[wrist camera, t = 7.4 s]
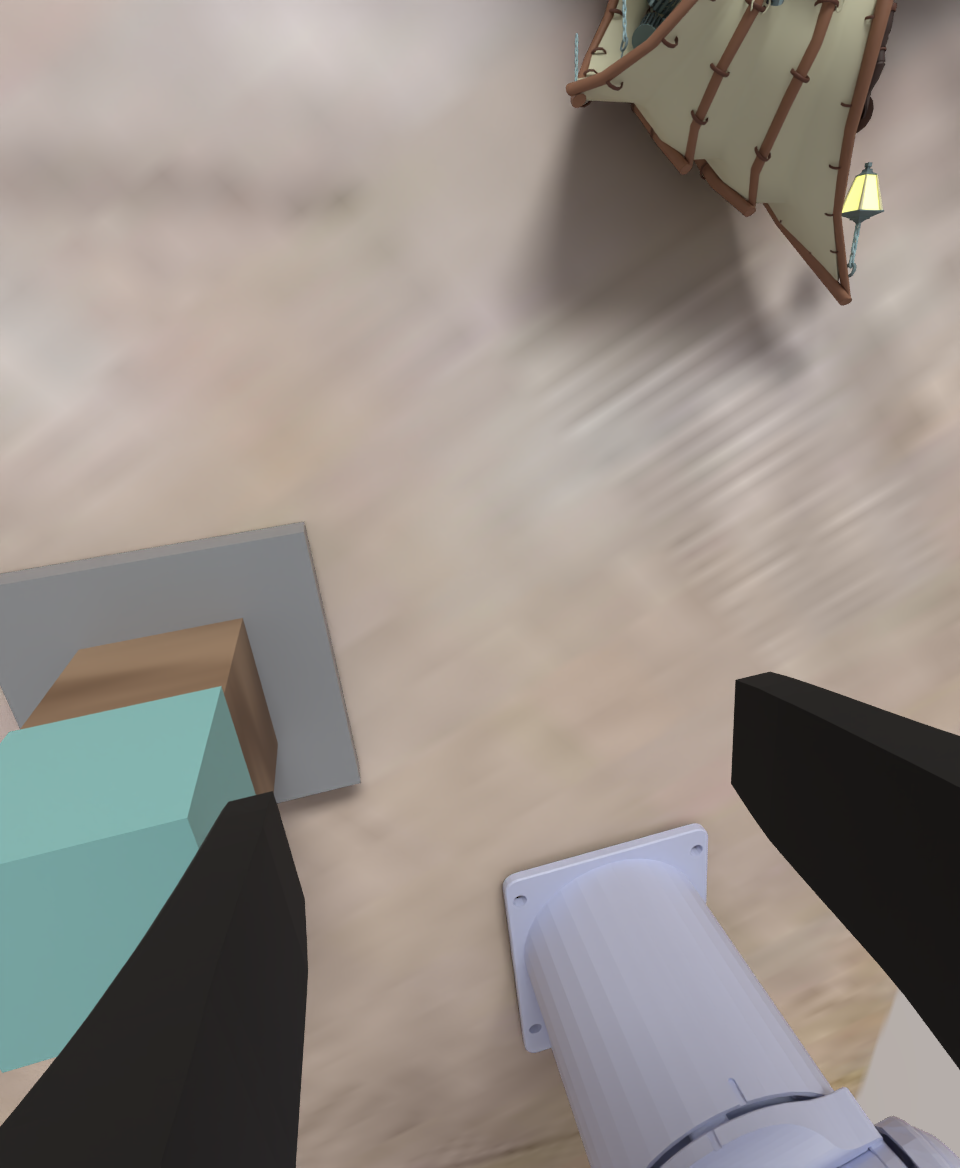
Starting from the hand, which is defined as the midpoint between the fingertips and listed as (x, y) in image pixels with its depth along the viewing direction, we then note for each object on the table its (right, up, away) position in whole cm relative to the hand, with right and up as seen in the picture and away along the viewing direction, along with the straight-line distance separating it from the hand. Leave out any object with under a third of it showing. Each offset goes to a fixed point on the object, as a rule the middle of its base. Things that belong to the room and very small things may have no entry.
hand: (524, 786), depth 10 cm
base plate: (-9, 0, +9) cm, 12 cm away
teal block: (-8, -1, +4) cm, 9 cm away
